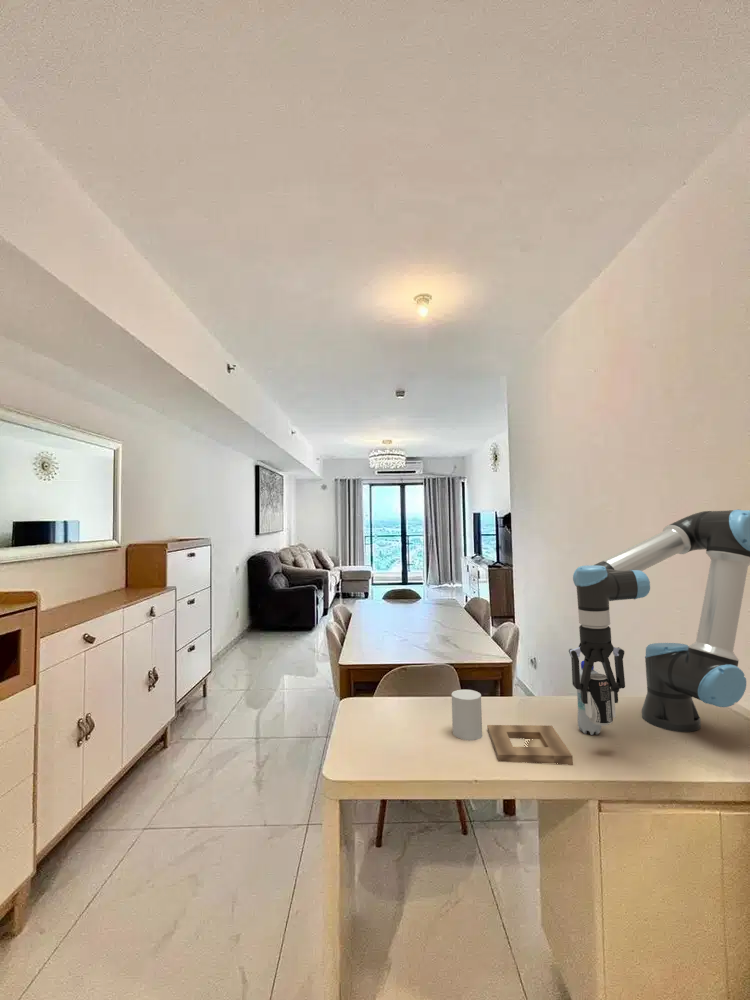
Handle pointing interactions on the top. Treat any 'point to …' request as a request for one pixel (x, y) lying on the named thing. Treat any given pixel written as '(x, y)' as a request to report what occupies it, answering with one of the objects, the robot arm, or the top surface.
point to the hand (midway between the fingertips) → (600, 715)
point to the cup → (466, 714)
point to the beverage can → (600, 699)
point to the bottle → (583, 719)
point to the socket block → (529, 744)
